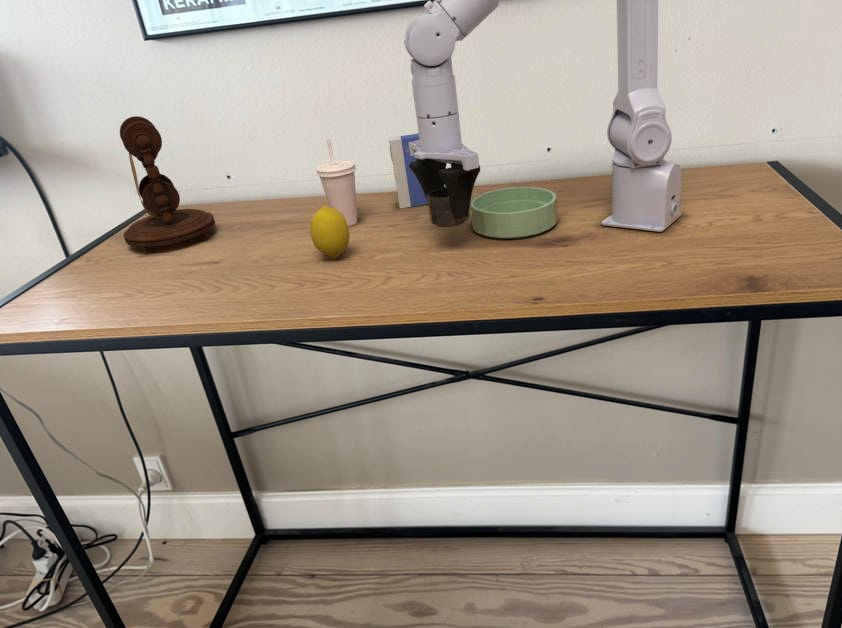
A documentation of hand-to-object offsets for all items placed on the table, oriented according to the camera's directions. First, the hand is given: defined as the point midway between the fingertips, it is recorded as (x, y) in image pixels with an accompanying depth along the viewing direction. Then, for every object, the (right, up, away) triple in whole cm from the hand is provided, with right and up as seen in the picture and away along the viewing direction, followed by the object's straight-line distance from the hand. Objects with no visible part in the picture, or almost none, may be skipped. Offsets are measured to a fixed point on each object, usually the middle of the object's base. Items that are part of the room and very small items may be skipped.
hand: (449, 212), depth 100 cm
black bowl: (0, -1, +1) cm, 1 cm away
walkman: (-5, +6, +24) cm, 25 cm away
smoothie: (-18, +2, +18) cm, 25 cm away
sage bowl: (+10, 0, +8) cm, 13 cm away
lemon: (-17, -6, +4) cm, 18 cm away
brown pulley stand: (-48, -1, +20) cm, 52 cm away
